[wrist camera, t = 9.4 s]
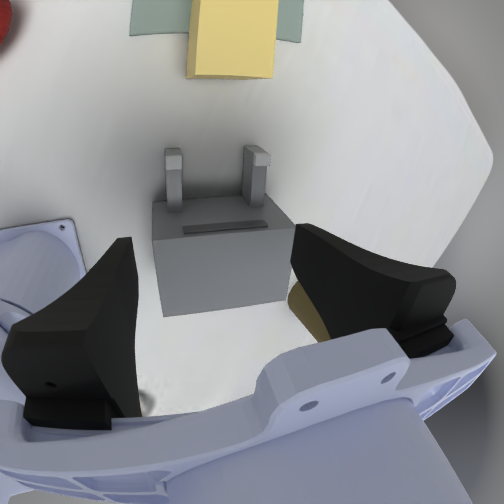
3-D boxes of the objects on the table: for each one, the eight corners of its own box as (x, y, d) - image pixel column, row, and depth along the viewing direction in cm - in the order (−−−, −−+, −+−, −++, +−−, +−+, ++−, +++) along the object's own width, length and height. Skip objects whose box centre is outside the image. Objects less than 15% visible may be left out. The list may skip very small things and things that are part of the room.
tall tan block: (186, 78, 17) (195, 74, 12) (194, -23, 12) (207, -54, 8) (244, 79, 18) (272, 78, 13) (252, -18, 14) (281, -44, 9)
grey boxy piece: (159, 267, 24) (163, 317, 19) (149, 149, 19) (146, 173, 14) (260, 257, 27) (285, 299, 22) (270, 146, 21) (306, 167, 17)
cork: (318, 260, 29) (381, 338, 20) (346, 285, 32) (401, 354, 23) (276, 301, 30) (323, 387, 21) (308, 320, 34) (353, 394, 25)
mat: (130, 36, 14) (129, 35, 14) (137, -29, 11) (137, -31, 11) (298, 43, 17) (300, 42, 17) (302, -16, 14) (304, -18, 14)
